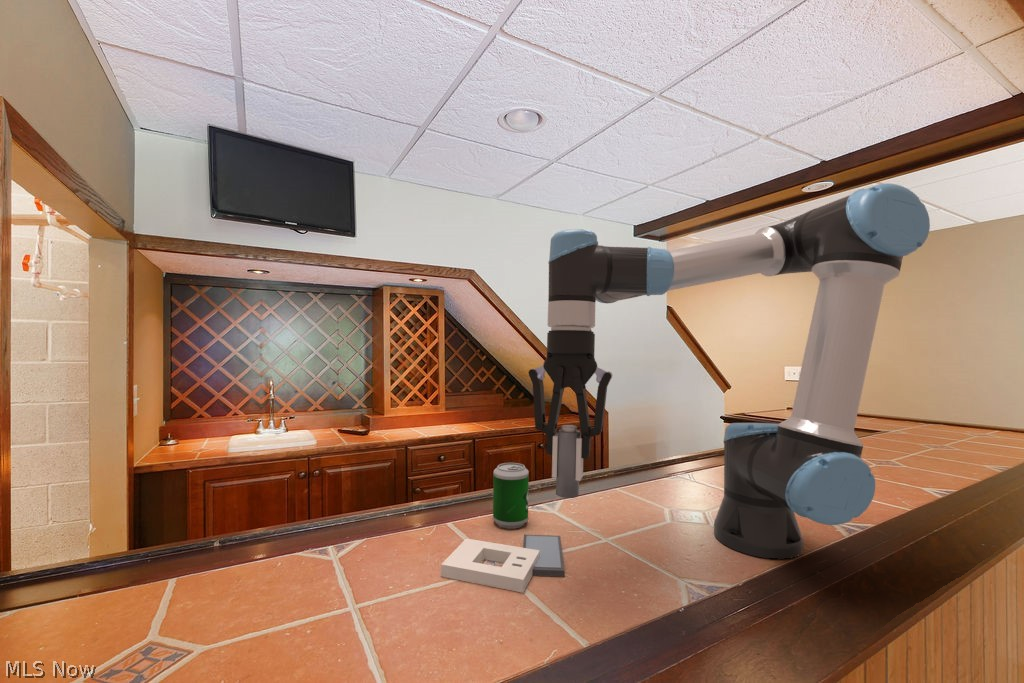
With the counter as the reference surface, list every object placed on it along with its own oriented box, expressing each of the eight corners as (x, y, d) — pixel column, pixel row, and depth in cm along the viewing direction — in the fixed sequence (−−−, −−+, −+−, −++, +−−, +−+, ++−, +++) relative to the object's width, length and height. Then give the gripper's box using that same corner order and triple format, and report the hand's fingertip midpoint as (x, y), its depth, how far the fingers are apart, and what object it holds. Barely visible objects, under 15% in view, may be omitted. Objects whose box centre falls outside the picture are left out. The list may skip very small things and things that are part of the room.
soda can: (525, 532, 89) (525, 472, 89) (488, 528, 90) (489, 470, 90) (530, 517, 96) (531, 462, 96) (497, 514, 97) (498, 460, 98)
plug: (580, 492, 71) (582, 425, 71) (576, 499, 68) (578, 429, 68) (558, 489, 72) (560, 423, 72) (553, 496, 69) (555, 427, 69)
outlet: (539, 561, 77) (539, 549, 77) (523, 592, 67) (523, 579, 67) (466, 549, 81) (466, 537, 81) (440, 576, 72) (441, 563, 72)
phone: (560, 540, 85) (560, 535, 85) (564, 576, 72) (564, 570, 72) (523, 539, 85) (524, 534, 85) (521, 575, 72) (521, 568, 72)
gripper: (624, 331, 71) (620, 475, 71) (528, 329, 76) (525, 465, 76) (621, 329, 64) (617, 490, 64) (515, 328, 69) (512, 477, 69)
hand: (567, 476), depth 70 cm, fingers closed on plug, 3 cm apart
